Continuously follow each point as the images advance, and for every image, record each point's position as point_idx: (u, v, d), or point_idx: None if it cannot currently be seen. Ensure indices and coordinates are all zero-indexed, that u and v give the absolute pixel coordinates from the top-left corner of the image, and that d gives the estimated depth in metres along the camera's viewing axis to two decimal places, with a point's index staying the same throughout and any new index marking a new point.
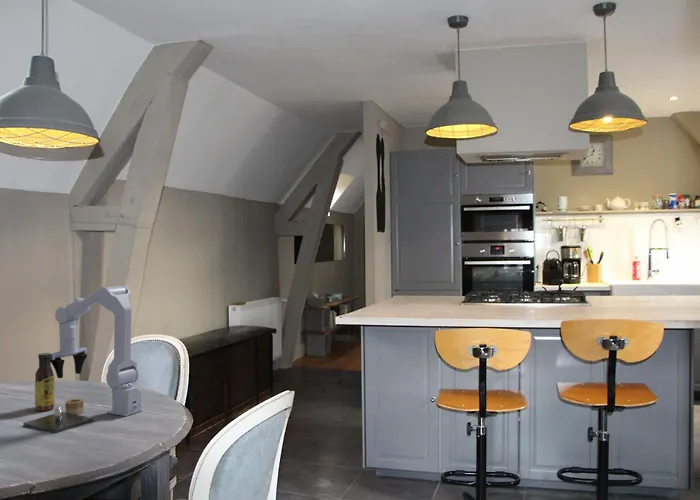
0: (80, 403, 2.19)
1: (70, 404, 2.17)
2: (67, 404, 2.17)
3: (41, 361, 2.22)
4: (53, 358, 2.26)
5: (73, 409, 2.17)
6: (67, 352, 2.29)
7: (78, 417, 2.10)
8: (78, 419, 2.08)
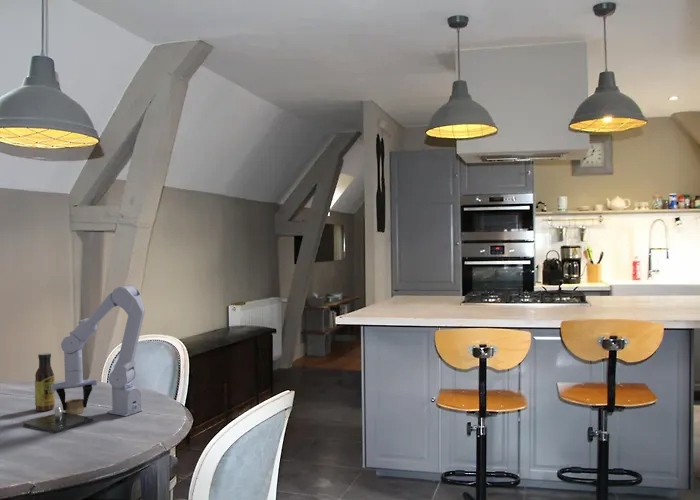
0: (80, 403, 2.19)
1: (70, 404, 2.17)
2: (67, 404, 2.17)
3: (41, 361, 2.22)
4: (52, 389, 2.15)
5: (73, 409, 2.17)
6: (68, 384, 2.17)
7: (78, 417, 2.10)
8: (78, 419, 2.08)
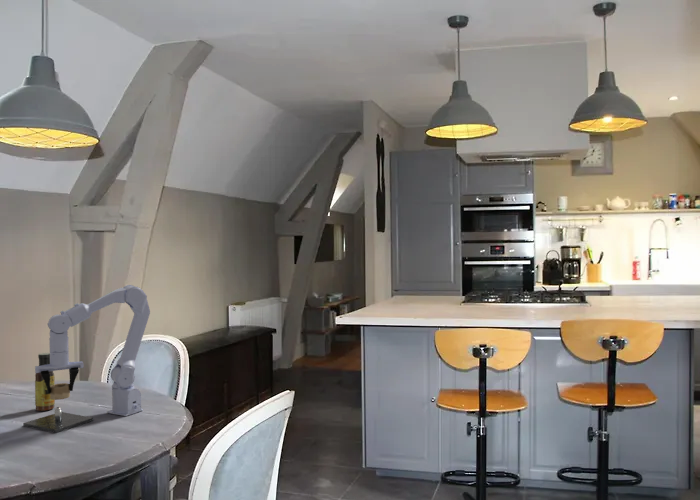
0: (65, 388, 2.08)
1: (55, 389, 2.07)
2: (52, 388, 2.07)
3: (41, 361, 2.22)
4: (36, 371, 2.05)
5: (58, 394, 2.07)
6: (53, 366, 2.06)
7: (78, 417, 2.10)
8: (78, 419, 2.08)
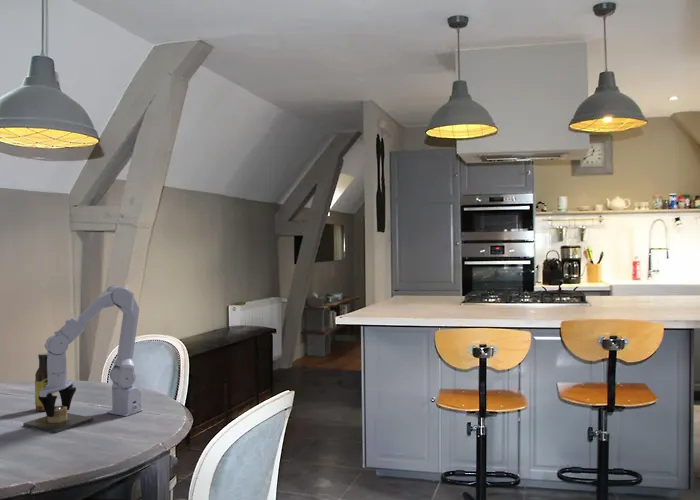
0: (66, 409, 2.08)
1: (59, 411, 2.05)
2: (55, 412, 2.05)
3: (41, 361, 2.22)
4: (45, 395, 2.00)
5: (62, 415, 2.06)
6: (59, 387, 2.05)
7: (78, 417, 2.10)
8: (78, 419, 2.08)
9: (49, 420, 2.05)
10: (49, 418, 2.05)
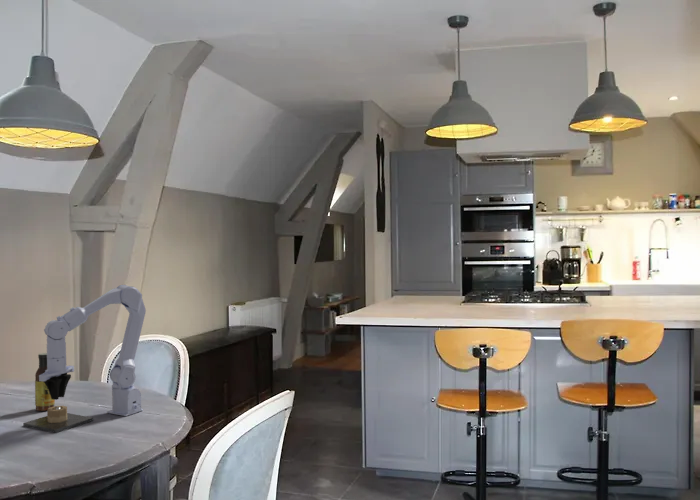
0: (66, 409, 2.08)
1: (59, 411, 2.05)
2: (55, 412, 2.05)
3: (41, 361, 2.22)
4: (45, 379, 2.00)
5: (62, 415, 2.06)
6: (58, 372, 2.04)
7: (78, 417, 2.10)
8: (78, 419, 2.08)
9: (49, 420, 2.05)
10: (49, 418, 2.05)
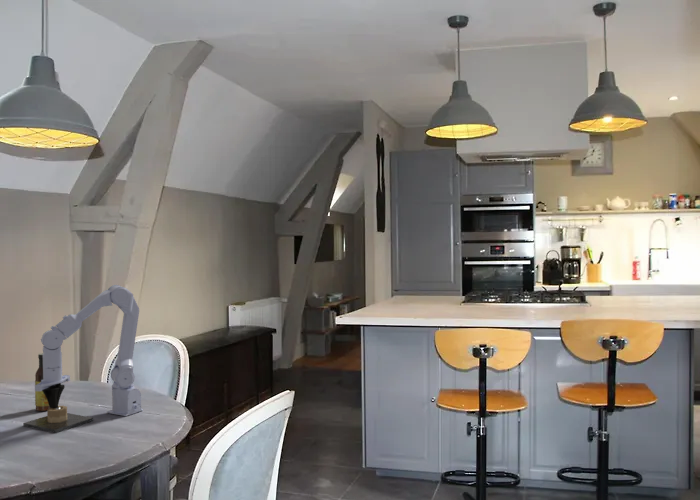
0: (66, 409, 2.08)
1: (59, 411, 2.05)
2: (55, 412, 2.05)
3: (41, 361, 2.22)
4: (40, 389, 2.01)
5: (62, 415, 2.06)
6: (54, 381, 2.06)
7: (78, 417, 2.10)
8: (78, 419, 2.08)
9: (49, 420, 2.05)
10: (49, 418, 2.05)
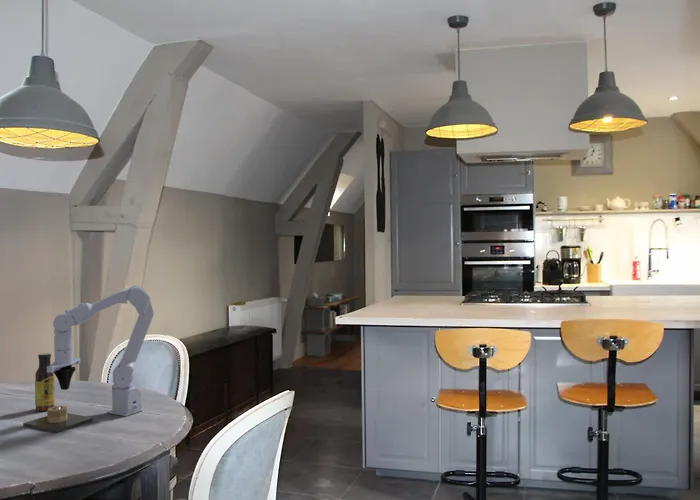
0: (66, 409, 2.08)
1: (59, 411, 2.05)
2: (55, 412, 2.05)
3: (41, 361, 2.22)
4: (52, 370, 2.06)
5: (62, 415, 2.06)
6: (65, 363, 2.10)
7: (78, 417, 2.10)
8: (78, 419, 2.08)
9: (49, 420, 2.05)
10: (49, 418, 2.05)
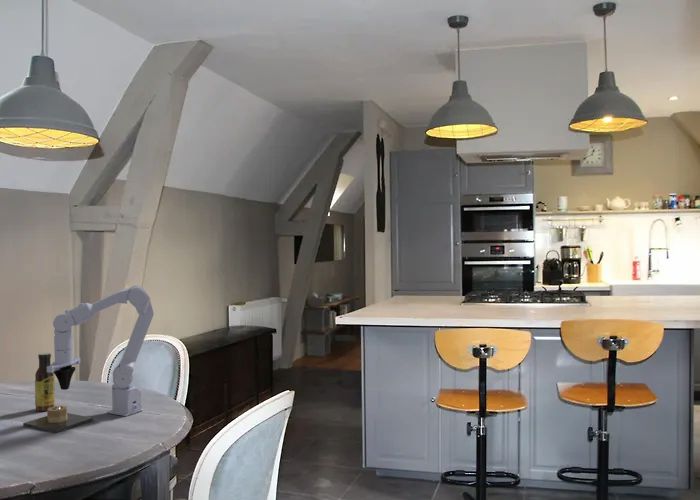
0: (66, 409, 2.08)
1: (59, 411, 2.05)
2: (55, 412, 2.05)
3: (41, 361, 2.22)
4: (52, 370, 2.06)
5: (62, 415, 2.06)
6: (65, 363, 2.10)
7: (78, 417, 2.10)
8: (78, 419, 2.08)
9: (49, 420, 2.05)
10: (49, 418, 2.05)
